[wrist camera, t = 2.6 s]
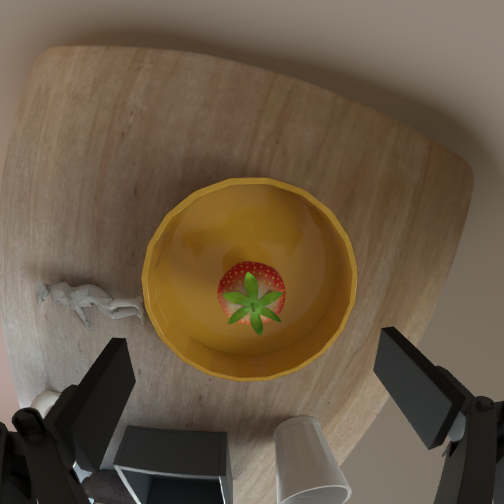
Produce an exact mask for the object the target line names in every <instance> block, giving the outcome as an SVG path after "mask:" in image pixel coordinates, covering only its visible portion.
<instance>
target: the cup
mask: <svg viewBox="0 0 504 504" xmlns="http://www.w3.org/2000/svg"><path fill="white" fill-rule="evenodd" d="M274 440H275V454H276V476H277V504H343V503H345V502H346V501H347V500H348V499H349V498H350V496H351V494H352V491H351V489H350V487H349V485H348V483H347V481H346V479H345V477H344V475H343V473H342V471H341V469H340V468H339V466H338V464H337V462H336V460H335V458H334V455H333V453H332V451H331V449H330V447H329V445H328V443H327V440H326V438H325V436H324V434H323V430H322V428H321V425H320V422H319V421H318V420H317V419H315V418H313V417H309V416H298V417H293V418H290V419H287V420H285V421H283V422H282V423H280V424H279V425H278V426H277V427H276V429H275V431H274Z"/></svg>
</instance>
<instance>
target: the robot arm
mask: <svg viewBox="0 0 504 504" xmlns="http://www.w3.org/2000/svg"><path fill="white" fill-rule="evenodd" d="M373 371H374V373H375V374H376V375H377V377H378V378H379V380H380V381H381V382H382V384H383V385H384V387H385V388H386V389H387V391H388V392H389V394H390V395H391V396H392V398H393V399H394V401H395V402H396V404H397V405H398V406H399V408H400V409H401V411H402V412H403V414H404V415H405V416H406V418H407V419H408V421H409V422H410V424H411V425H412V427H413V428H414V430H415V431H416V432H417V434H418V435H419V437H420V438H421V440H422V441H423V443H424V444H425V446H426V447H427V449H428V450H430V449H433V448H435V447H437V446H440V445H442V444H443V442H444V440H445V438H446V437H447V435H448V436H449V438H450V439H451V441H450V442H449V444H448V446H447V447H446V449H445V451H444V452H443V454H442V456H444V455H445V454H446V453H447V454H446V459H445V463H444V467H443V472H442V476H441V480H440V484H439V487H438V490H437V494H436V497H435V501H434V504H492V499H493V502H494V504H504V401H501V402H495V403H494V402H493V400H491V399H490V398H488V397H484V396H477V397H475V396H473V394H472V393H471V392H470V391H469V390H468V389H467V388H465V386H463V385H462V384H461V383H460V382H458V380H457V379H456V378H455V377H453V375H452V374H451V373H450V372H449V371H448V370H446V369H445V368H443V367H441V366H434V365H433V364H432V363H431V362H430V361H429V360H428V359H427V358H426V357H425V356H424V355H423V354H422V353H421V352H420V351H419V350H418V349H417V348H416V347H415V346H414V345H413V344H412V343H411V342H410V341H408V340H407V339H406V338H405V337H404V336H403V335H402V334H401V333H400V332H399V331H398V330H397V329H396V328H395V327H394V326H393V327H386V328H382V329H381V334H380V340H379V345H378V350H377V355H376V360H375V364H374V369H373ZM135 383H136V380H135V376H134V372H133V368H132V364H131V360H130V356H129V351H128V347H127V342H126V338H112V339H111V340H110V341H109V343H108V344H107V346H106V347H105V348H104V350H103V351H102V352H101V354H100V355H99V357H98V358H97V359H96V361H95V362H94V364H93V365H92V366H91V368H90V369H89V371H88V372H87V374H86V375H85V376H84V378H83V379H82V381H81V382H80V384H79V385H73V384H72V385H70V386H69V387H67V388H66V389H65V390H63V392H62V393H61V395H60V396H59V399H57V400H56V402H55V405H54V404H53V406H52V407H51V409H50V410H49V412H48V413H47V414H46V416H45V417H44V419H43V418H42V416H41V414H40V412H39V411H38V410H37V409H35V408H31V407H28V408H23V409H20V410H18V411H17V412H16V413H15V414H14V416H13V417H12V423H13V425H14V427H15V428H16V430H17V432H11V431H8V429H7V427H6V426H5V424H3V423H2V422H0V504H37V499H38V502H39V504H91V503H90V501H89V499H88V497H87V495H86V493H85V491H84V489H83V487H82V485H81V483H80V481H79V479H78V476H77V474H76V472H75V470H74V469H73V465H74V463H75V461H76V462H77V464H78V466H79V467H80V469H82V470H86V471H89V472H93V473H98V470H99V468H100V465H101V463H102V460H103V458H104V455H105V453H106V450H107V448H108V445H109V443H110V440H111V438H112V436H113V433H114V431H115V428H116V426H117V424H118V421H119V419H120V417H121V414H122V412H123V410H124V407H125V405H126V403H127V401H128V398H129V396H130V394H131V392H132V389H133V387H134V385H135Z"/></svg>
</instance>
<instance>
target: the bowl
mask: <svg viewBox="0 0 504 504" xmlns="http://www.w3.org/2000/svg"><path fill="white" fill-rule="evenodd" d="M245 261H252V262H259V263H263V264H266V265H269V266H271V267H272V268H274V269H275V270H276V271H277V272H278V273H279V274H280V276H281V277H282V279H283V282H284V285H285V292H286V295H285V302H284V306H283V308H282V311H281V312H280V314H279V315H278V317H279V318H280V320H281V322H282V323H281V322H278V321H275V320H271V321H268V322H266V323H263V333H262V335H261V336H260V335H258V334H257V333H256V332H255V330H254V329H253V327H252V325H247V324H242V323H239V322H235V323H232V324H227V323H228V322H229V319H230V317H229V316H228V315H226V314H225V312H224V311H223V310H222V308H221V306H220V304H219V300H218V293H217V289H218V285H219V282H220V280H221V279H222V277H223V276H224V274H225V273H226V272H227V271H228V270H229V269H231V268H232V267H233V266H235V265H236V264H238V263H241V262H245ZM357 275H358V270H357V266H356V261H355V257H354V253H353V249H352V245H351V240H350V238H349V237H348V235H347V234H346V232H345V230H344V229H343V227H342V226H341V224H340V223H339V221H338V220H337V218H336V216H335V215H334V213H333V212H332V211H331V210H330V209H329V208H327V207H326V206H325V205H324V204H322V203H321V202H320V201H319V200H317V199H316V198H315V197H313V196H312V195H311V194H309V193H308V192H307V191H305V190H304V189H302V188H299V187H296V186H293V185H290V184H287V183H284V182H281V181H278V180H275V179H272V178H229V179H226V180H223V181H221V182H218V183H215V184H212V185H209V186H207V187H204V188H201V189H198V190H196V191H194V192H193V193H192V194H190V195H189V196H188V197H187V198H185V199H184V200H183V201H182V202H180V203H179V204H178V205H177V206H176V207H174V208H173V209H172V210H171V211H169V212H168V213H167V214H166V216H165V217H164V219H163V220H162V222H161V224H160V225H159V227H158V228H157V230H156V232H155V233H154V235H153V237H152V238H151V240H150V242H149V243H148V247H147V251H146V256H145V261H144V265H143V270H142V275H141V279H142V288H143V295H144V303H145V309H146V311H147V313H148V316H149V318H150V320H151V322H152V324H153V326H154V328H155V330H156V332H157V334H158V336H159V337H160V339H161V340H162V341H163V342H164V343H165V344H166V345H167V346H168V347H169V348H170V349H171V350H172V351H173V352H174V353H175V354H176V355H177V356H178V357H179V358H180V359H181V360H182V361H184V362H186V363H187V364H189V365H191V366H193V367H194V368H196V369H198V370H200V371H202V372H203V373H205V374H208V375H211V376H215V377H219V378H223V379H227V380H232V381H236V382H247V381H268V380H271V379H275V378H278V377H281V376H284V375H287V374H290V373H293V372H296V371H298V370H300V369H301V368H303V367H304V366H306V365H308V364H309V363H311V362H312V361H314V360H315V359H317V358H318V357H320V356H321V355H322V354H323V353H324V352H325V351H326V350H327V349H328V348H329V347H330V345H331V344H332V343H333V342H334V341H335V339H336V338H337V337H338V336H339V335H340V334H341V332H342V331H343V329H344V327H345V324H346V322H347V320H348V318H349V315H350V313H351V311H352V308H353V306H354V303H355V296H356V286H357Z"/></svg>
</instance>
